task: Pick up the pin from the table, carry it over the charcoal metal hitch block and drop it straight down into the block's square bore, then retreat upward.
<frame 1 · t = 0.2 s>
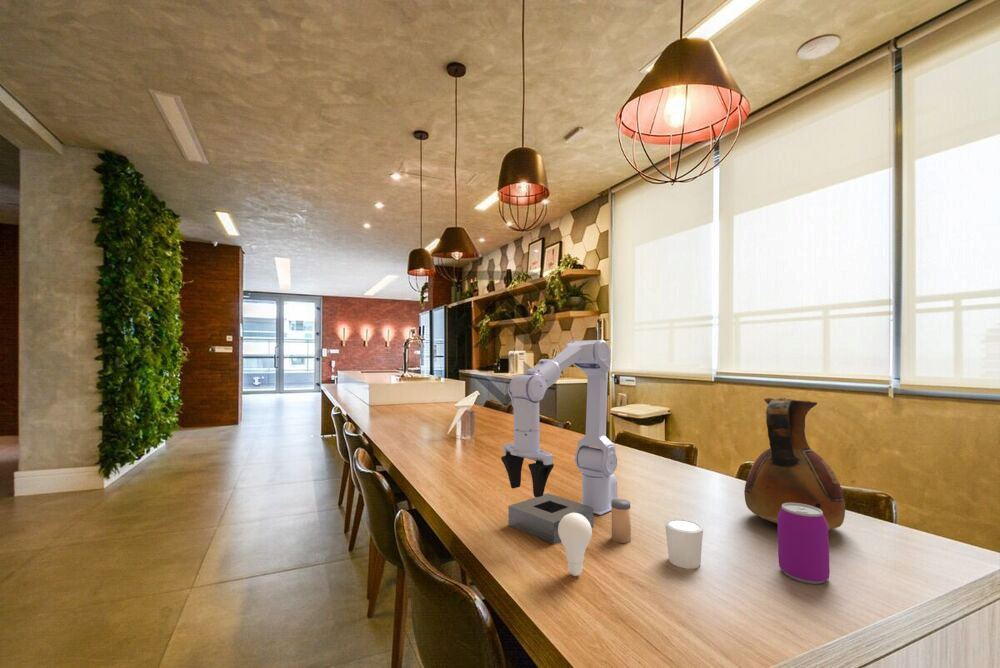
hand: (526, 491, 96), 10 cm above the table, tool pointing down, fingers open, 7 cm apart
pin: (621, 539, 95), on the table
beverage can: (803, 576, 80), on the table
hitch block: (550, 526, 102), on the table
lightbulb: (575, 576, 80), on the table
shot glass: (684, 562, 85), on the table
ceramic pitcher: (793, 526, 103), on the table
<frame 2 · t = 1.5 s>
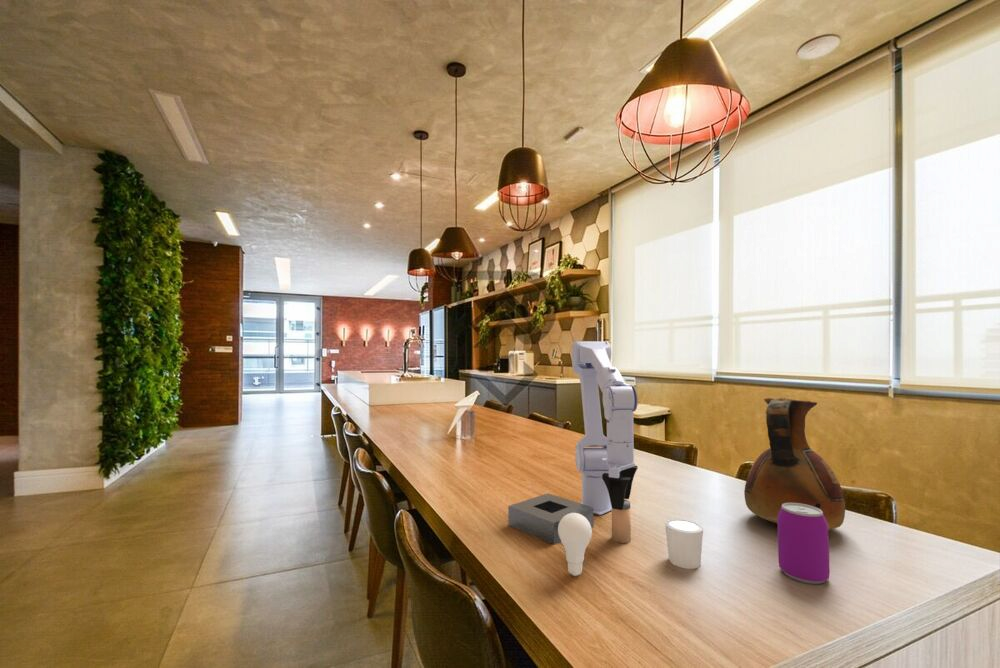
hand: (620, 503, 96), 8 cm above the table, tool pointing down, fingers open, 7 cm apart
nothing on the table moved.
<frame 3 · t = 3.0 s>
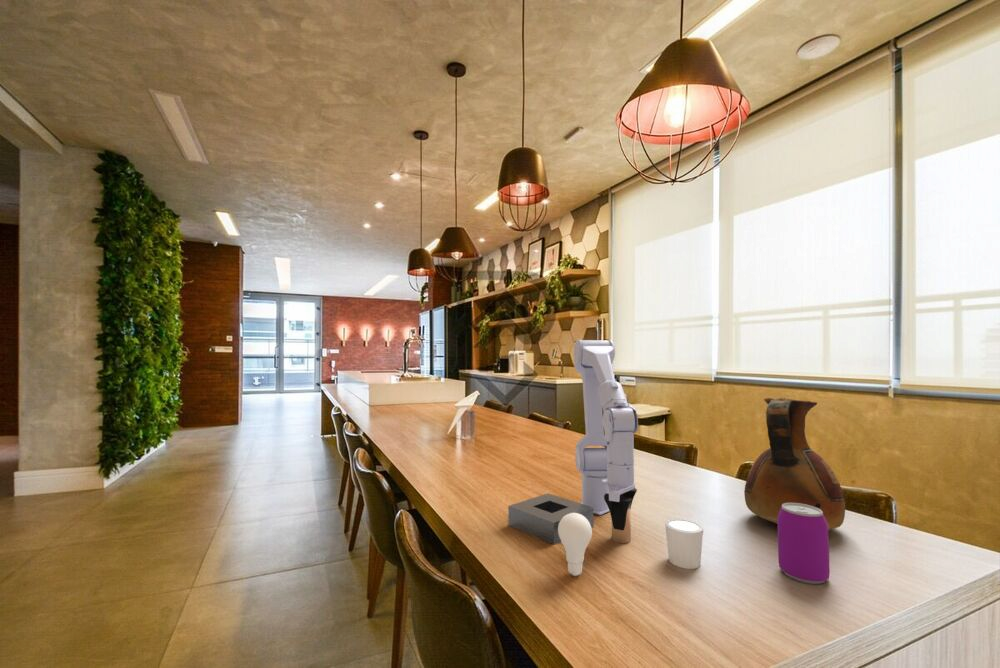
hand: (621, 525, 95), 3 cm above the table, tool pointing down, fingers closed on pin, 4 cm apart
pin: (621, 539, 95), on the table, touching gripper
everything else where it was.
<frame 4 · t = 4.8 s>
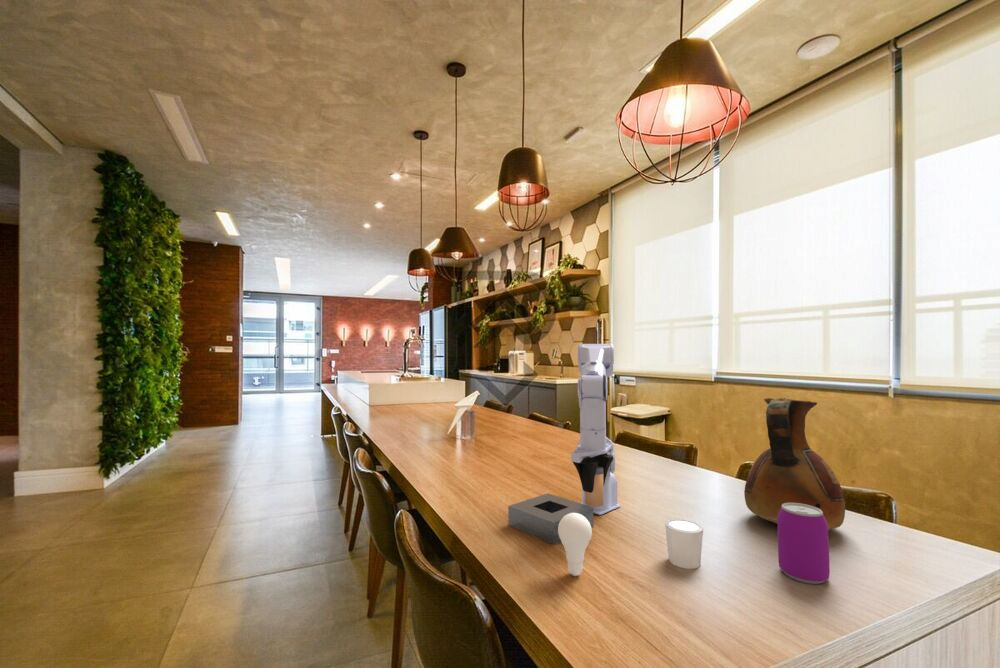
hand: (593, 489, 98), 10 cm above the table, tool pointing down, fingers closed on pin, 4 cm apart
pin: (594, 503, 98), point 7 cm above the table, touching gripper
everything else where it was.
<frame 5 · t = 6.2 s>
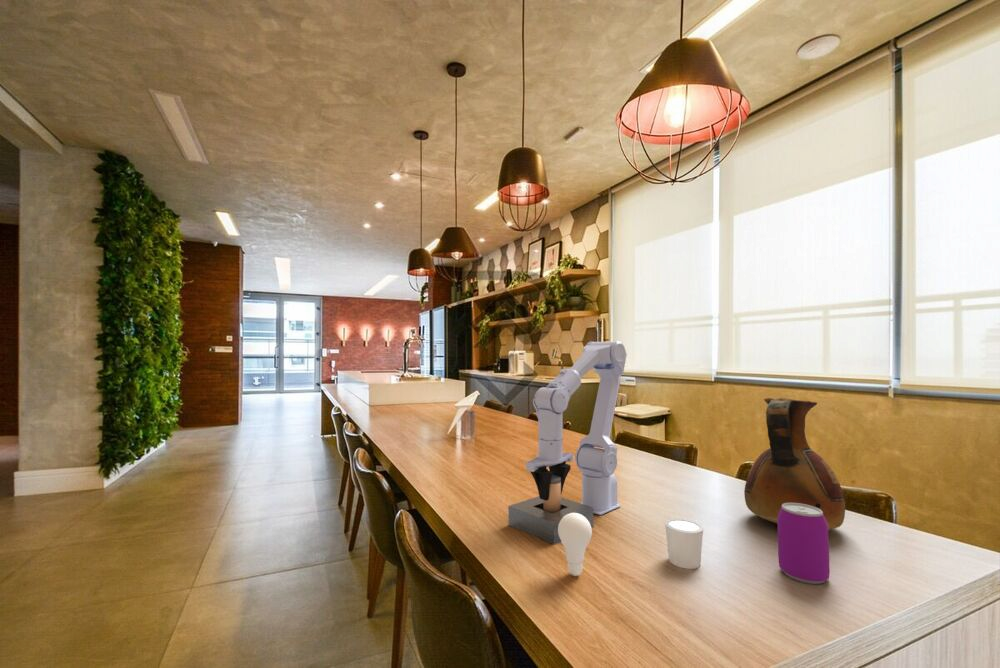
hand: (550, 497, 103), 7 cm above the table, tool pointing down, fingers closed on pin, 4 cm apart
pin: (551, 511, 102), point 4 cm above the table, touching gripper
everything else where it was.
when the fingers open (6 cm above the table, at t = 6.9 s): pin drops 2 cm, resting in hitch block.
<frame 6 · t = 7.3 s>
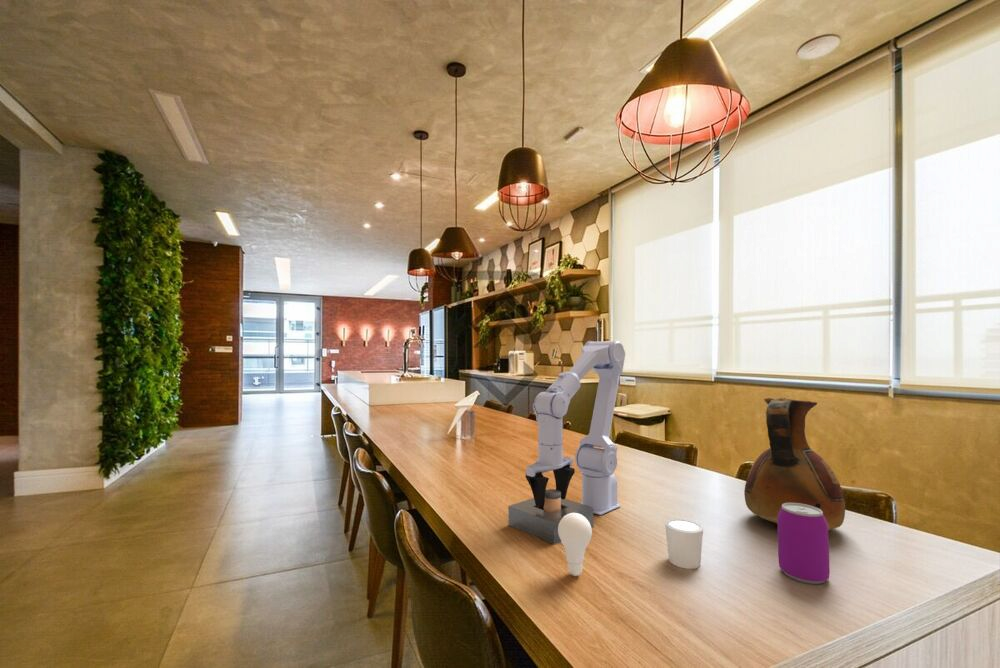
hand: (550, 501, 103), 6 cm above the table, tool pointing down, fingers open, 7 cm apart
pin: (552, 526, 102), resting in hitch block
everything else where it was.
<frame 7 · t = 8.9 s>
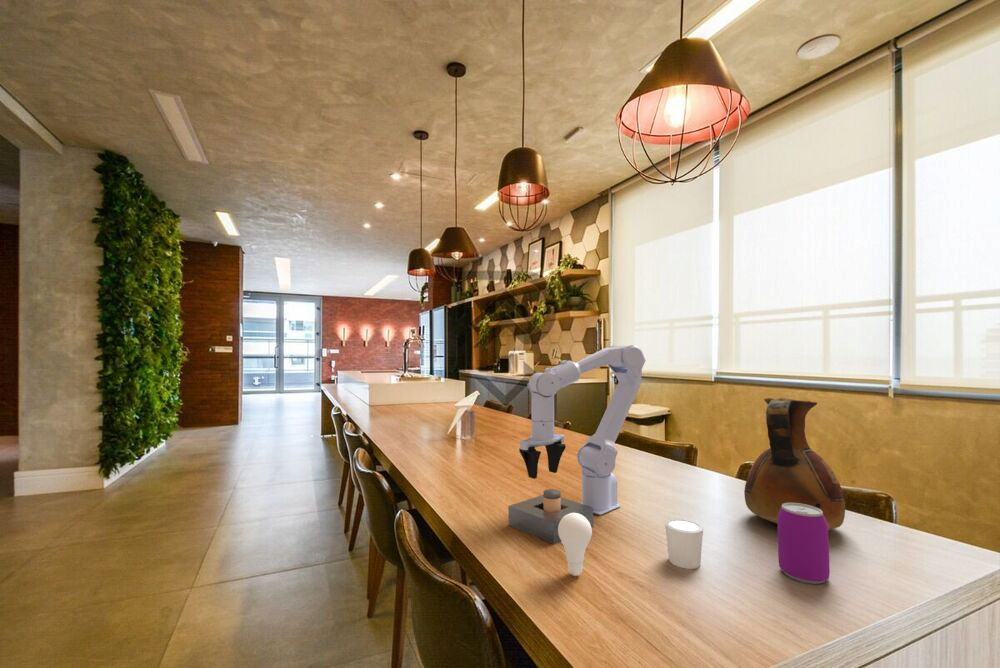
hand: (543, 474, 110), 10 cm above the table, tool pointing down, fingers open, 7 cm apart
nothing on the table moved.
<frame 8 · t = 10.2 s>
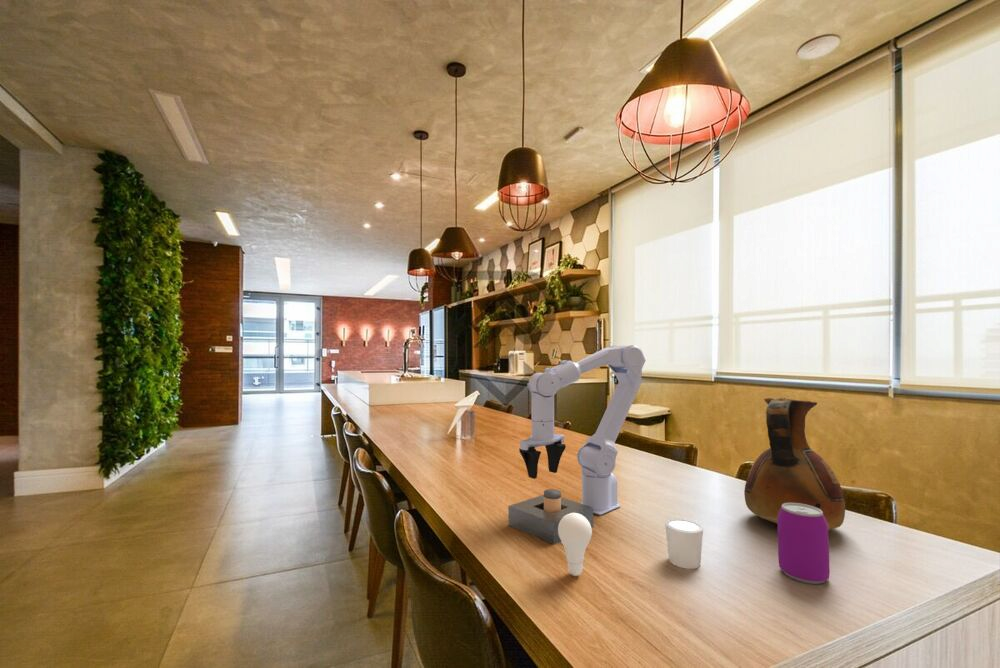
hand: (543, 474, 110), 10 cm above the table, tool pointing down, fingers open, 7 cm apart
nothing on the table moved.
at the end: pin 0.4 cm off-centre on the hitch block, point 0.0 cm above the hitch block's base; pin tilted 1°; the gripper is holding nothing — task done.
